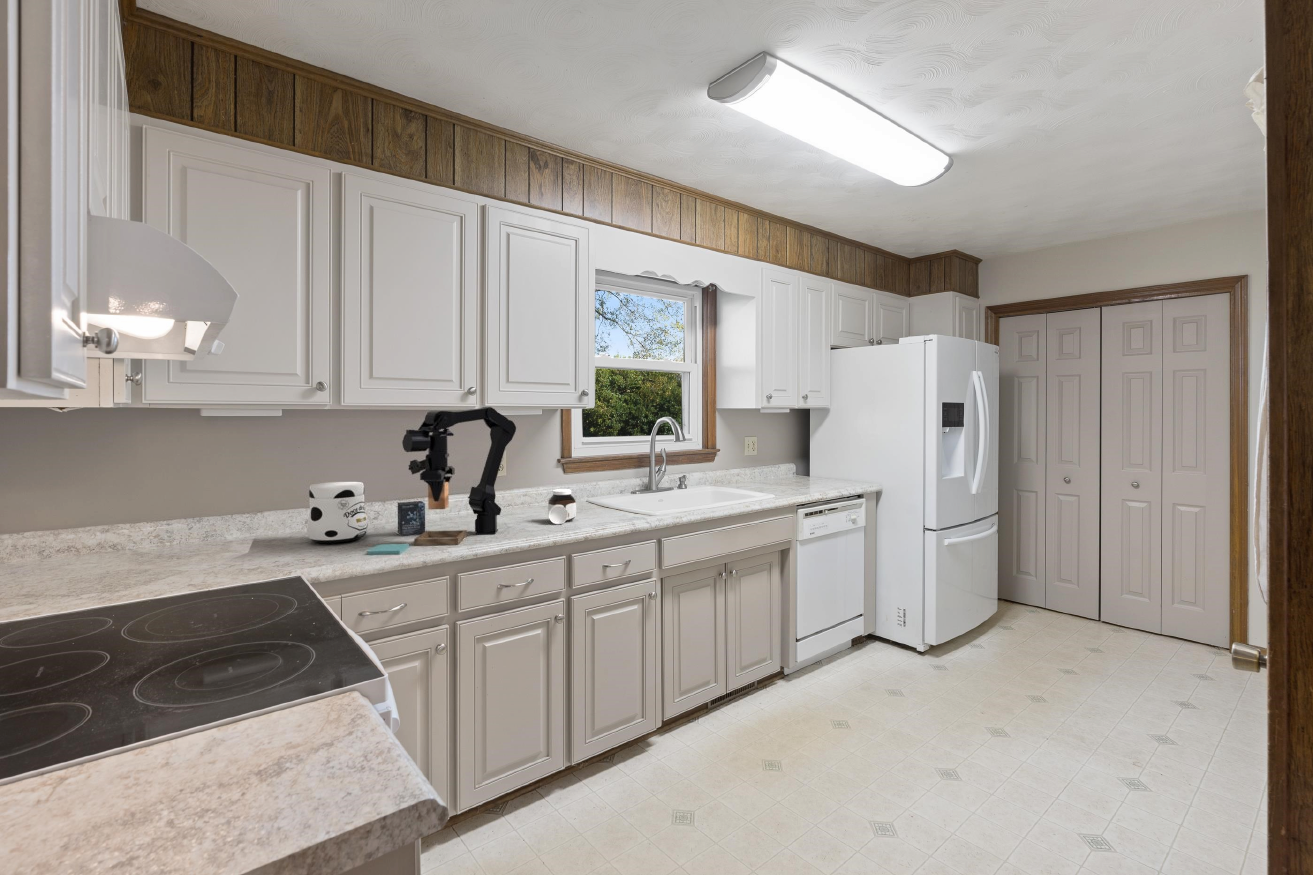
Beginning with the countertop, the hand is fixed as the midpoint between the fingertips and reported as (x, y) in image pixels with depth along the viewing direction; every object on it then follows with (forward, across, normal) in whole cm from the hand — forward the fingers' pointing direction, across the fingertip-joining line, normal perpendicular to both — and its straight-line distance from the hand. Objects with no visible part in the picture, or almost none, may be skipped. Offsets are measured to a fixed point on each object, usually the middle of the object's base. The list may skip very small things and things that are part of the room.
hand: (438, 500), depth 194 cm
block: (+2, 0, 0) cm, 2 cm away
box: (+13, -14, -12) cm, 23 cm away
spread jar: (+13, -31, +37) cm, 50 cm away
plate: (+13, +12, -11) cm, 21 cm away
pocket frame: (+13, -1, +1) cm, 13 cm away
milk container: (+13, -5, -32) cm, 35 cm away
